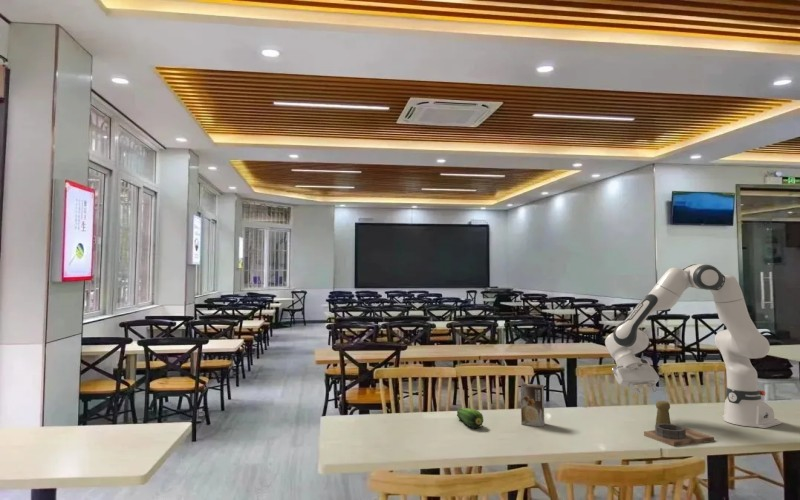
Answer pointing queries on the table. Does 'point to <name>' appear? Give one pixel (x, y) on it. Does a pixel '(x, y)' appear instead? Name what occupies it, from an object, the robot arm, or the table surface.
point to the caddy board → (687, 440)
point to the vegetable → (470, 417)
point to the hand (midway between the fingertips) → (646, 392)
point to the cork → (662, 412)
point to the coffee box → (532, 405)
